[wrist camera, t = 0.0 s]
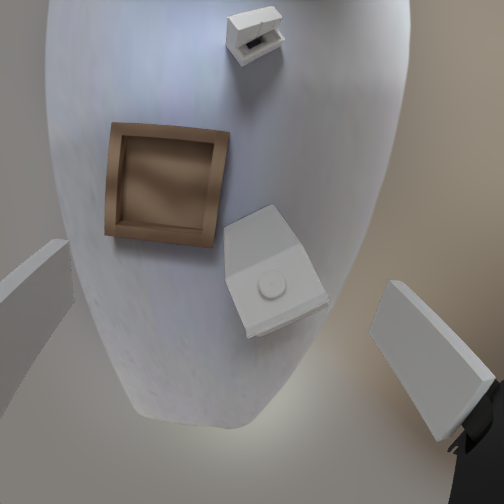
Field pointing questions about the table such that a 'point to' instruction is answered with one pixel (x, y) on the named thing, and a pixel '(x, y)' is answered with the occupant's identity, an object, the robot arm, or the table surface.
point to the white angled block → (253, 33)
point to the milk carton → (269, 273)
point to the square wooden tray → (164, 183)
